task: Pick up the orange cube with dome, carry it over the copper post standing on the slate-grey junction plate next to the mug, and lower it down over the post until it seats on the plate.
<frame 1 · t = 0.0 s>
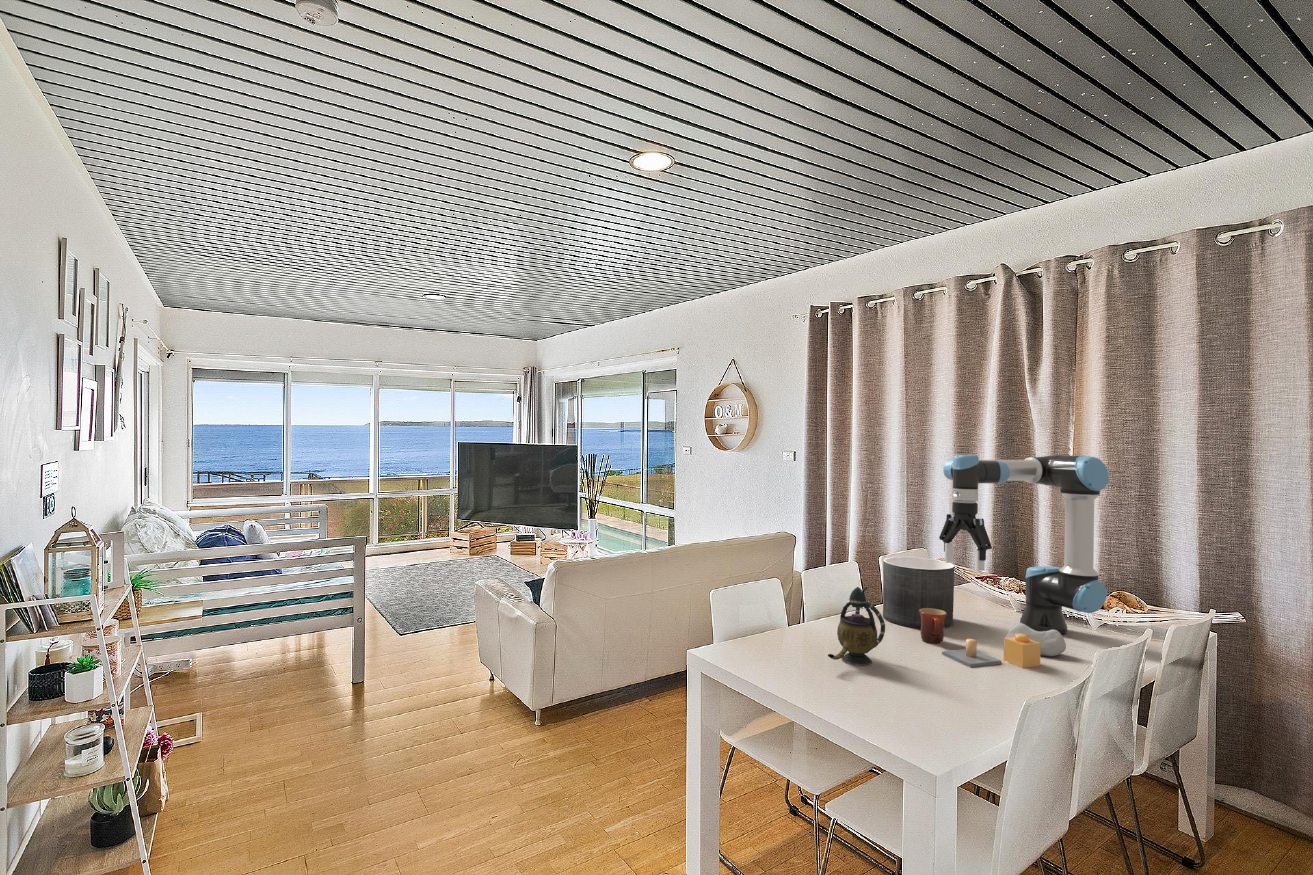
hand: (963, 566, 212), 28 cm above the table, fingers open, 13 cm apart
planter: (917, 620, 249), on the table
orange cube with dome: (1021, 662, 202), on the table
decorative stone: (1034, 652, 213), on the table
teapot: (851, 664, 198), on the table
junction plate: (971, 658, 204), on the table
mug: (933, 643, 221), on the table
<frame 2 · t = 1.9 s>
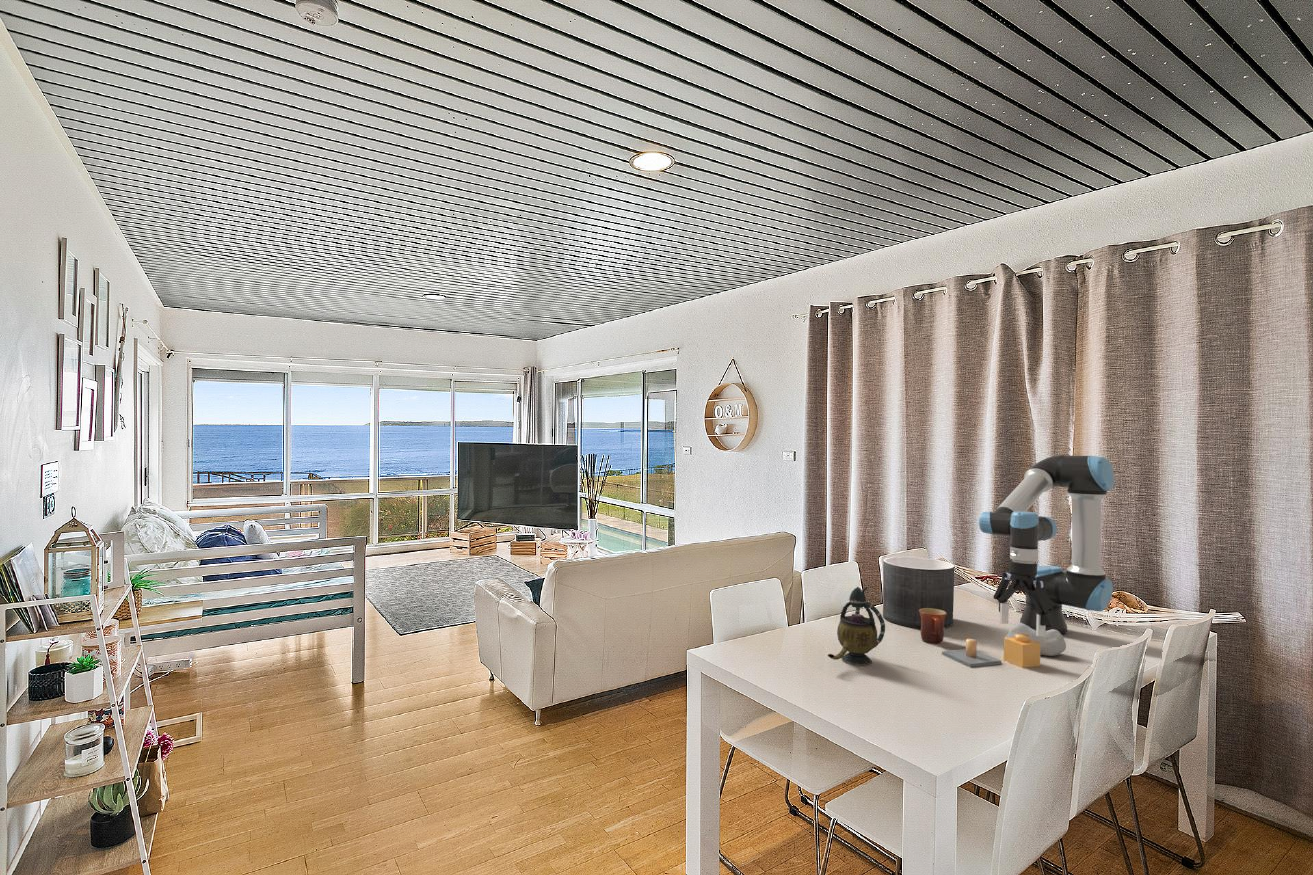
hand: (1021, 629, 201), 11 cm above the table, fingers open, 13 cm apart
nothing on the table moved.
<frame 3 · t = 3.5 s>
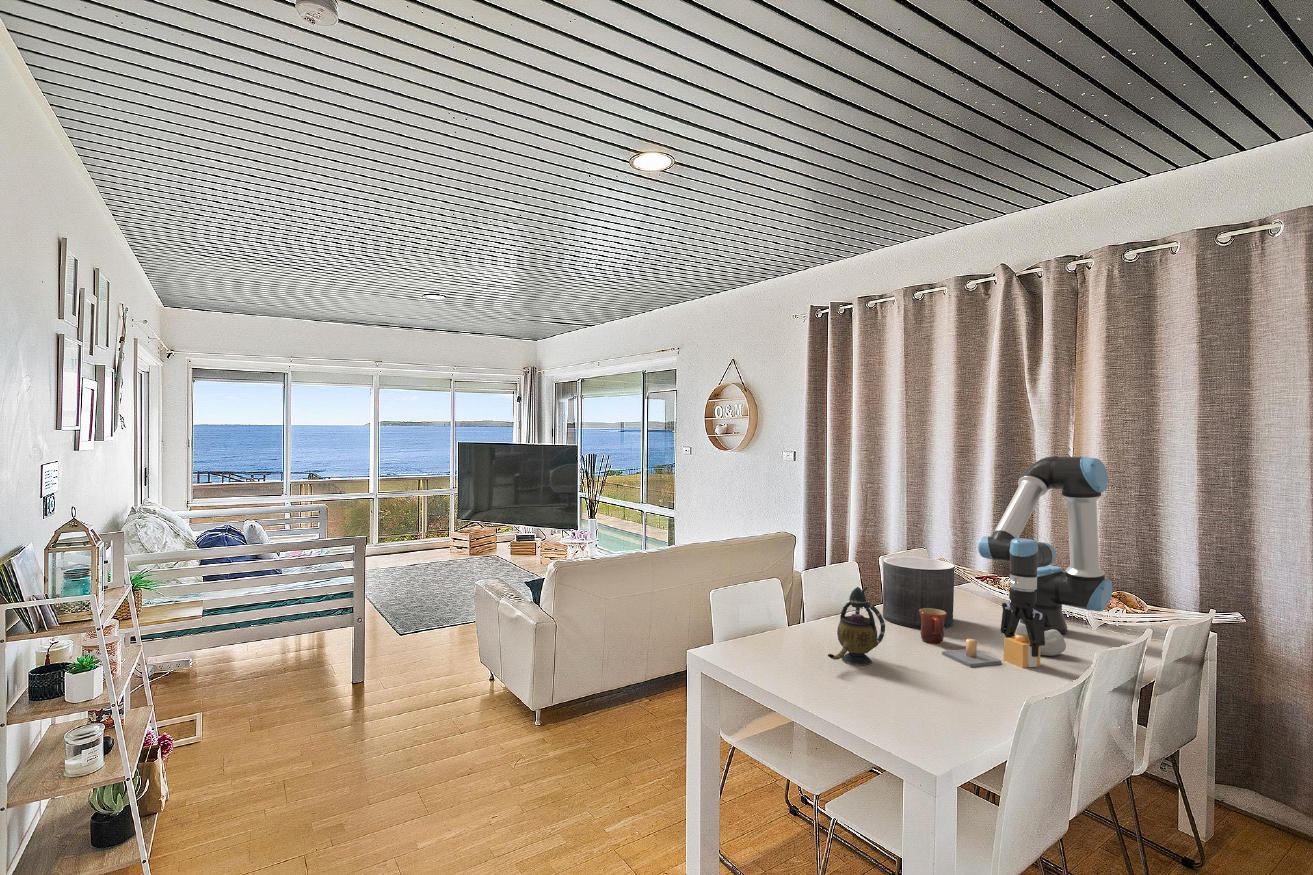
hand: (1021, 662, 202), 0 cm above the table, fingers closed on orange cube with dome, 7 cm apart
orange cube with dome: (1021, 662, 202), on the table, touching gripper
everything else where it was.
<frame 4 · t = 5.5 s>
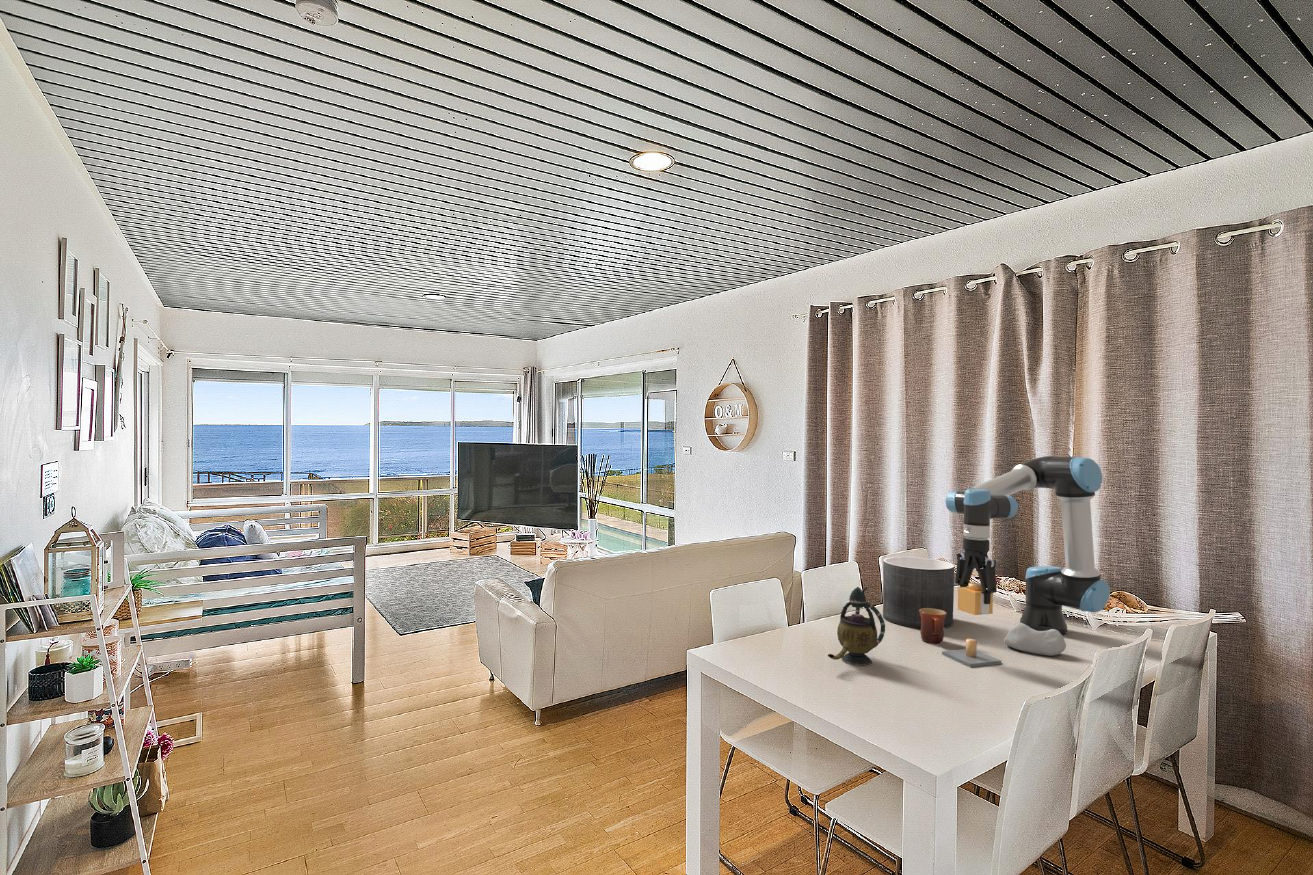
hand: (974, 610, 204), 15 cm above the table, fingers closed on orange cube with dome, 7 cm apart
orange cube with dome: (974, 611, 204), point 15 cm above the table, touching gripper
everything else where it was.
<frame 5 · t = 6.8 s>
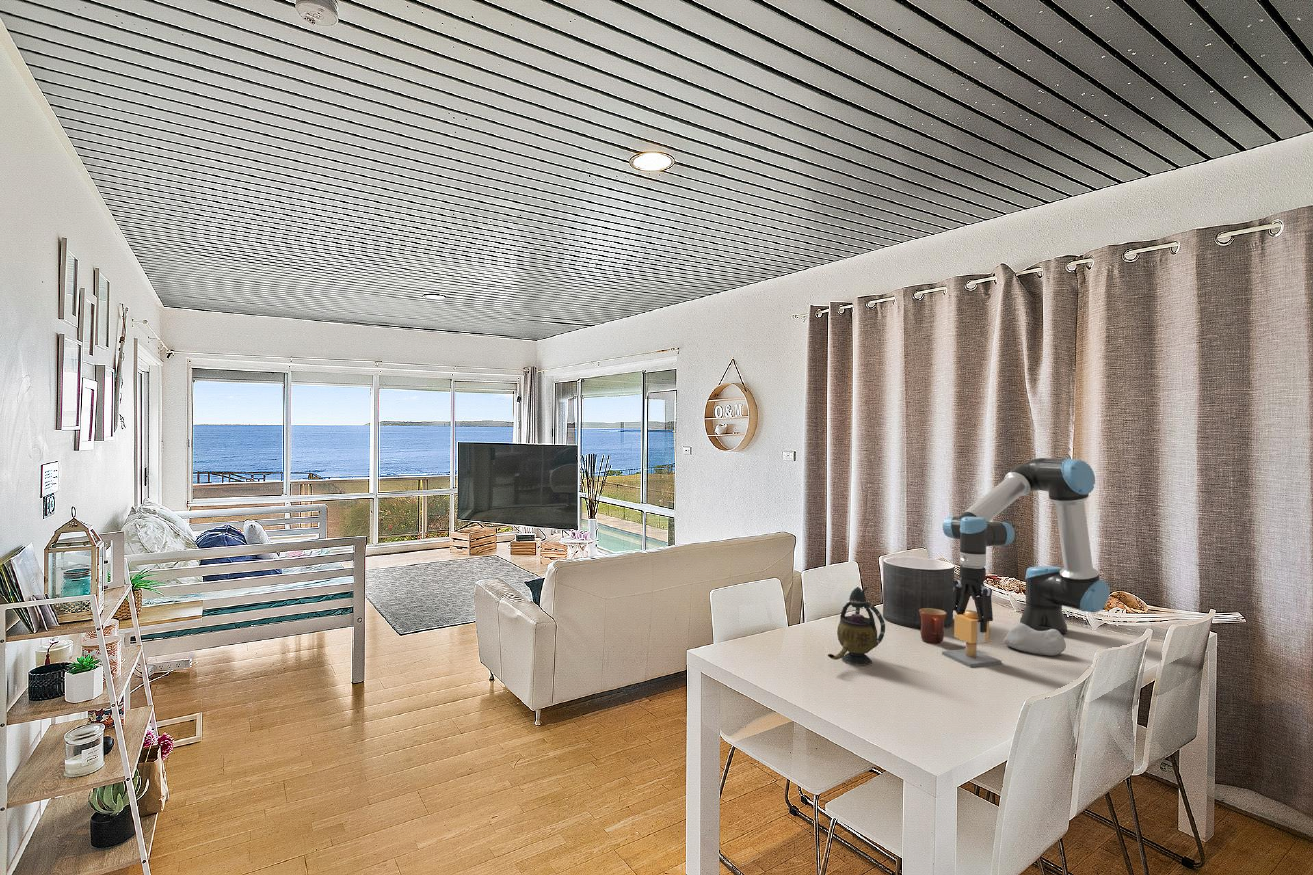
hand: (971, 638, 204), 7 cm above the table, fingers closed on orange cube with dome, 7 cm apart
orange cube with dome: (971, 639, 204), point 6 cm above the table, touching gripper
everything else where it was.
when the fingers open (3 cm above the table, at t = 7.9 s): orange cube with dome drops 1 cm, resting on junction plate.
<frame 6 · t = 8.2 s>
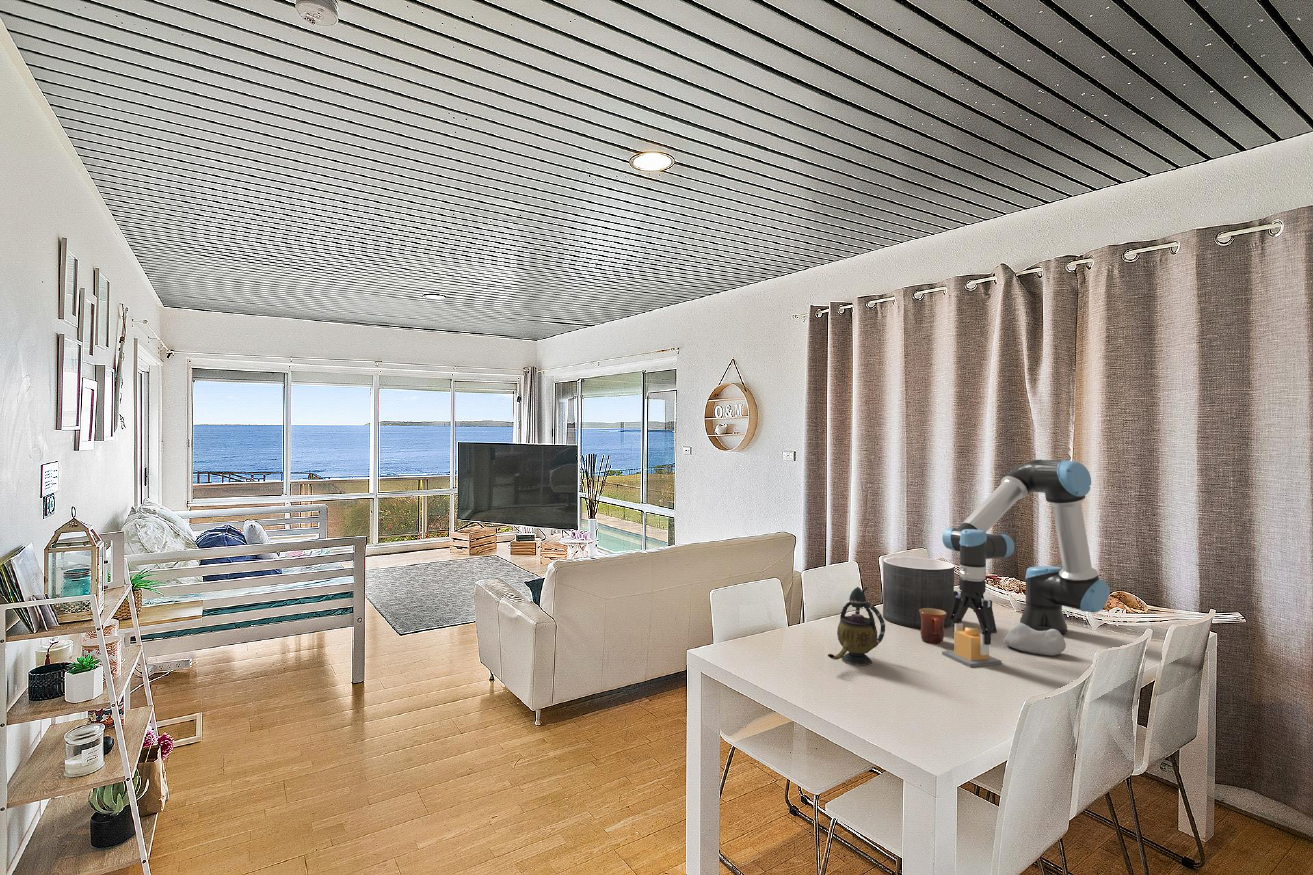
hand: (971, 648, 204), 3 cm above the table, fingers open, 10 cm apart
orange cube with dome: (971, 655, 204), point 1 cm above the table, touching junction plate
everything else where it was.
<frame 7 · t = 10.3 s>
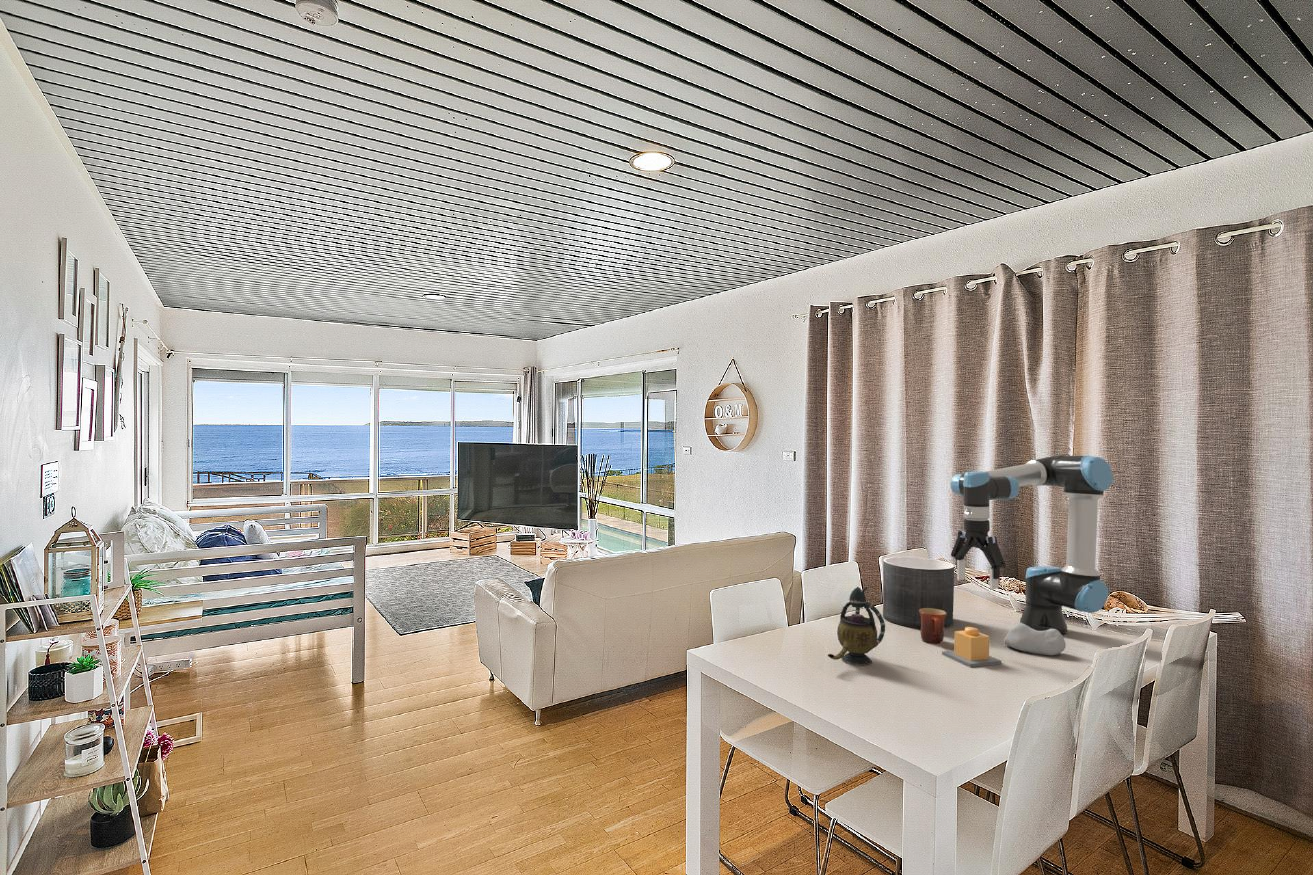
hand: (977, 583, 211), 23 cm above the table, fingers open, 13 cm apart
nothing on the table moved.
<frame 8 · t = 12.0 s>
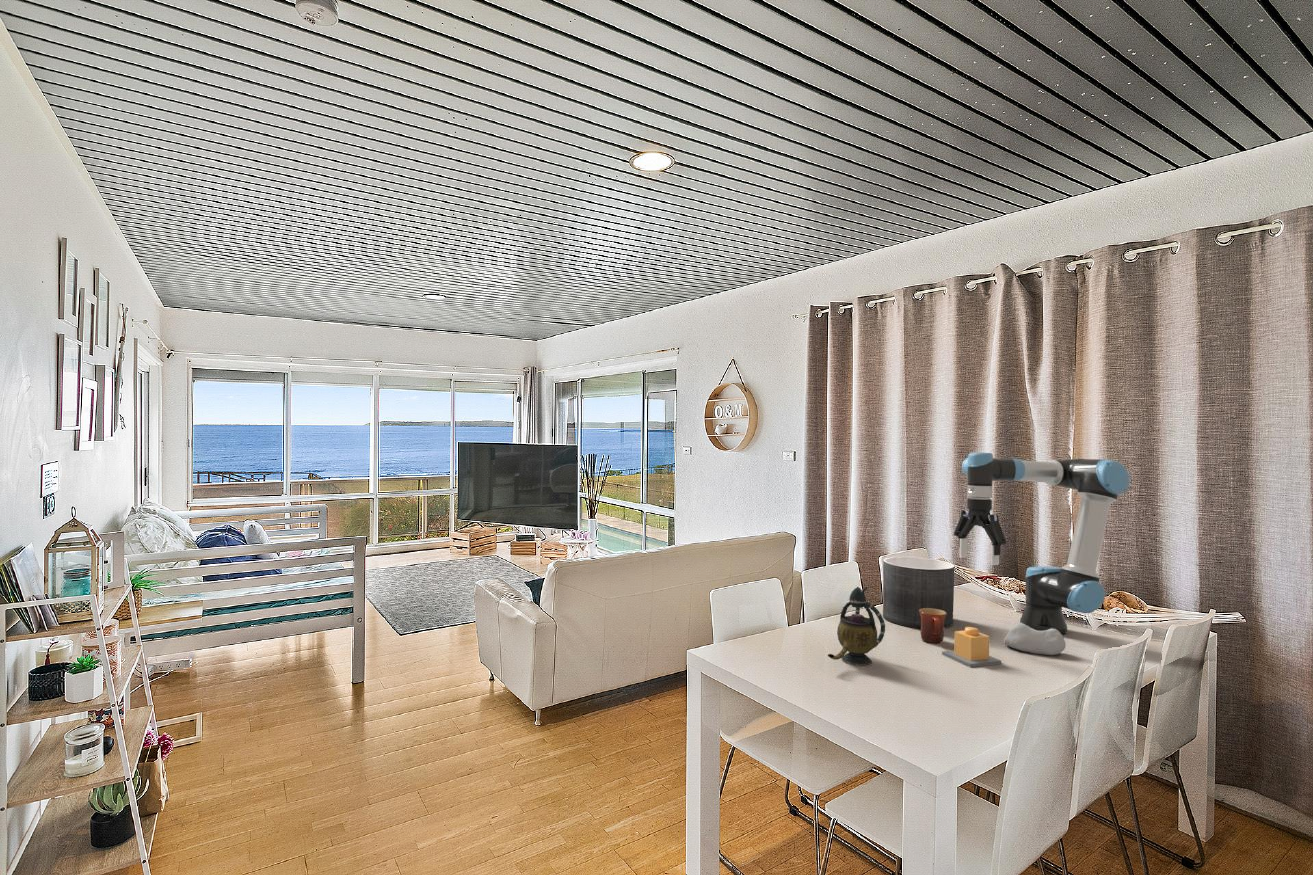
hand: (978, 561, 218), 29 cm above the table, fingers open, 13 cm apart
nothing on the table moved.
at the end: orange cube with dome 0.1 cm off-centre on the junction plate, point 1.0 cm above the junction plate's base; orange cube with dome tilted 0°; the gripper is holding nothing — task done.
